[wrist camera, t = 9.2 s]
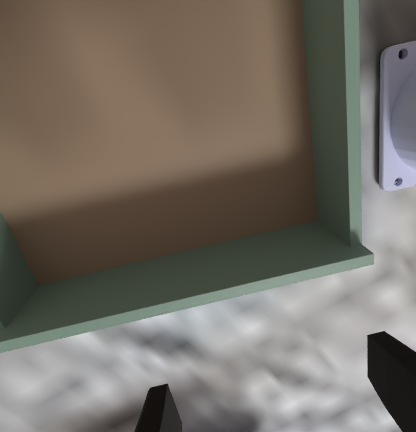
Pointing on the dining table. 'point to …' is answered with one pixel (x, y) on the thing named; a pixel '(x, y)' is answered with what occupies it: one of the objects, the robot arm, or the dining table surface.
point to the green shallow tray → (172, 156)
